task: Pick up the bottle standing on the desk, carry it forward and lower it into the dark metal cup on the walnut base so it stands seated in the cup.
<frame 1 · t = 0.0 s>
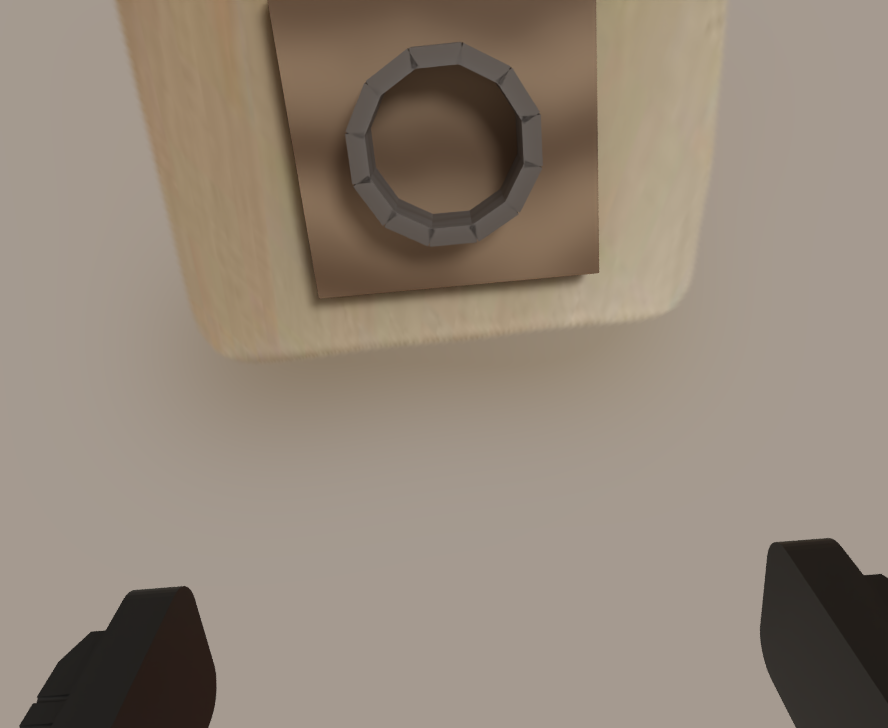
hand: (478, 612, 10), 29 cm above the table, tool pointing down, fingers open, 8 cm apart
cup bracket: (444, 135, 36), on the table
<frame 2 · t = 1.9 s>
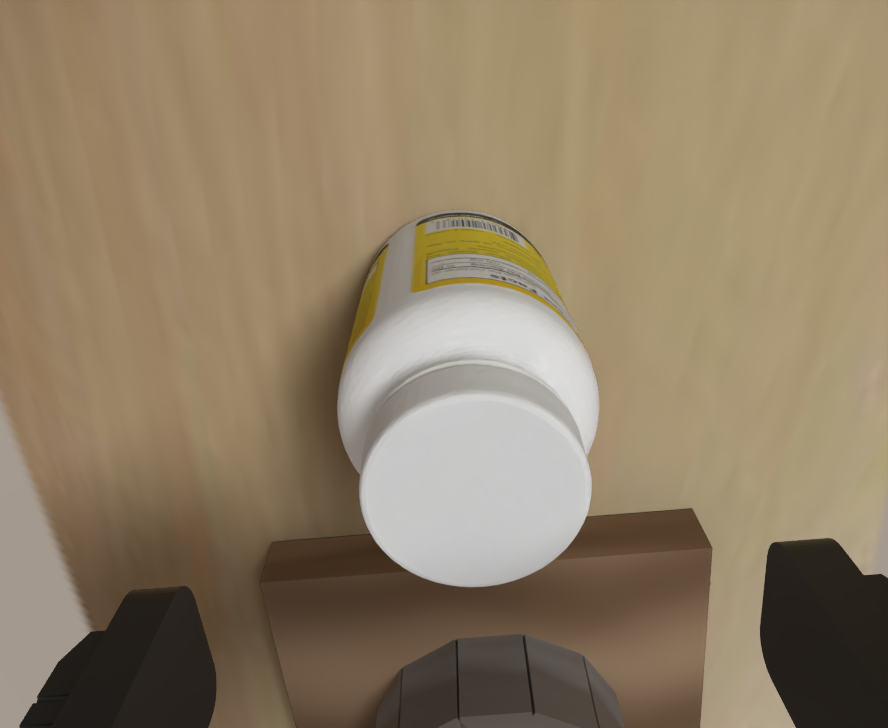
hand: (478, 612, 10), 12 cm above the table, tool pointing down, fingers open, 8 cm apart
supplement bottle: (459, 296, 22), on the table
cup bracket: (494, 678, 28), on the table
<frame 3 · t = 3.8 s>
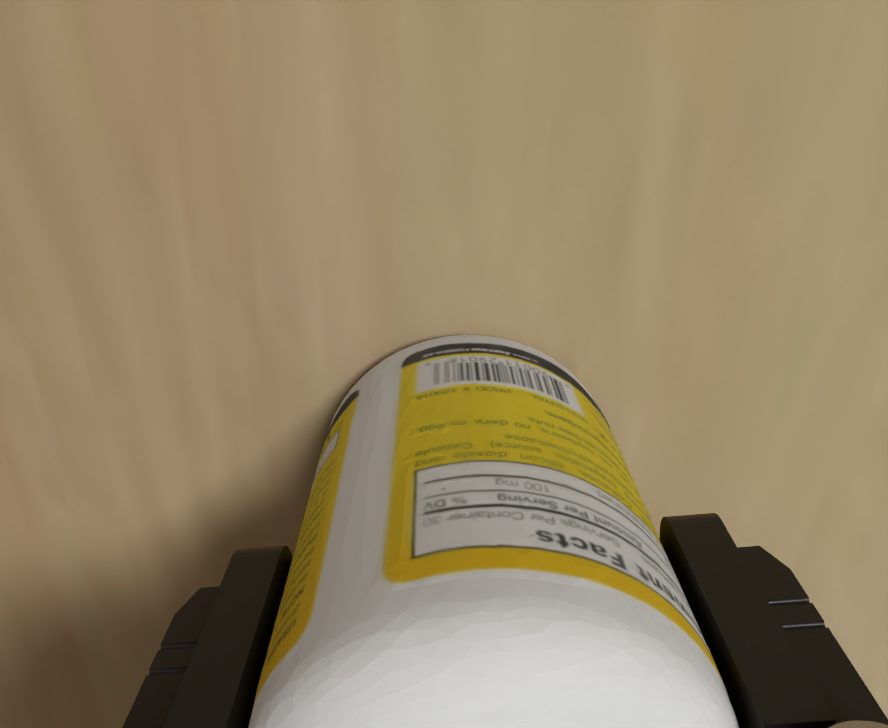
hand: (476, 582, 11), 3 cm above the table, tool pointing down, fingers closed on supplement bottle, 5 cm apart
supplement bottle: (468, 453, 14), on the table, touching gripper
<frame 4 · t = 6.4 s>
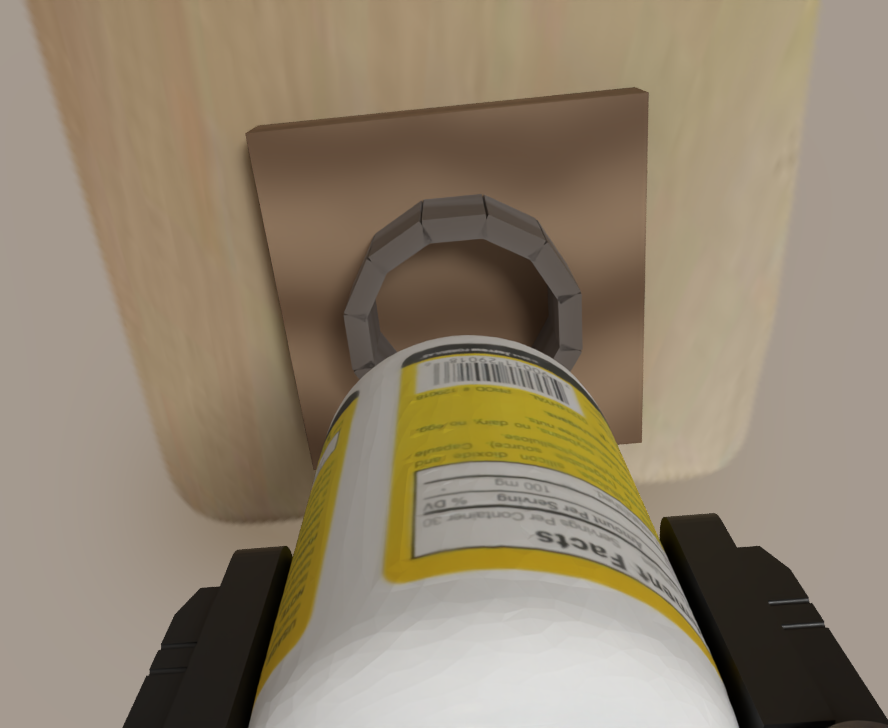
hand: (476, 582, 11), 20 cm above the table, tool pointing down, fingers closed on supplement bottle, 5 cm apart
supplement bottle: (468, 453, 14), point 17 cm above the table, touching gripper
cup bracket: (460, 285, 30), on the table
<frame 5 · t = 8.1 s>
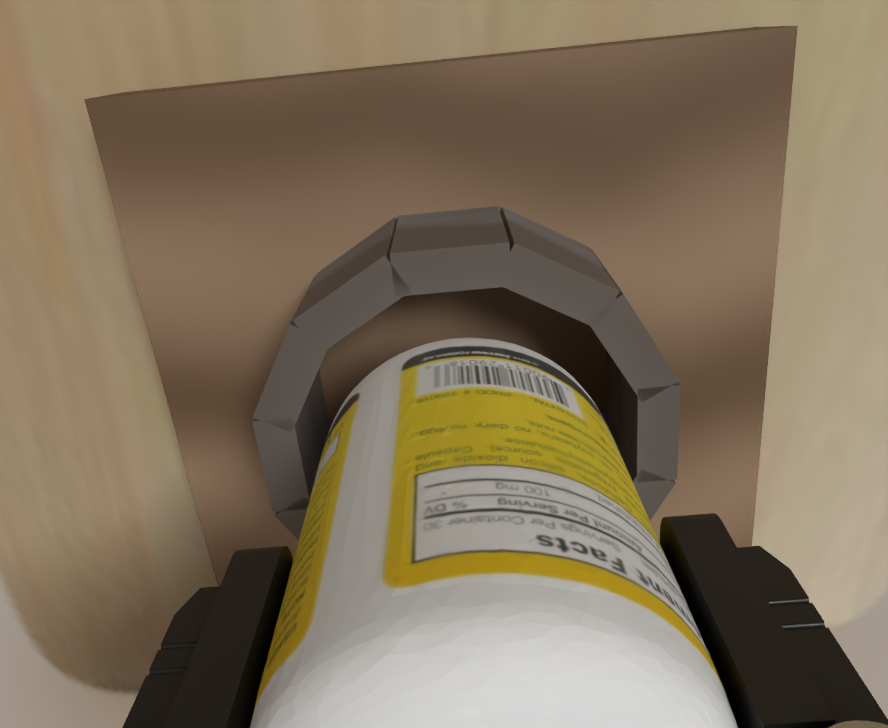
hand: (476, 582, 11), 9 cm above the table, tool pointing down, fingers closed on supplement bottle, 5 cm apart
supplement bottle: (469, 455, 14), point 5 cm above the table, touching gripper
cup bracket: (462, 351, 19), on the table
when the fingers open (7 cm above the table, at t = 9.3 s): supplement bottle drops 1 cm, resting on cup bracket.
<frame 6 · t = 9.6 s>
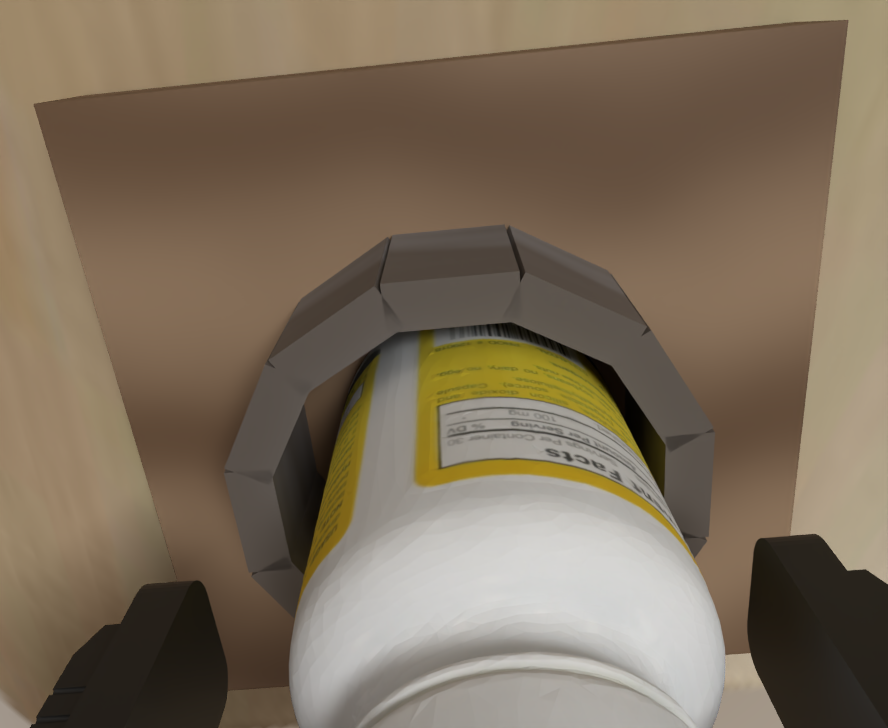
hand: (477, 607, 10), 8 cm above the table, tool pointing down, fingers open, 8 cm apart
supplement bottle: (477, 412, 16), point 2 cm above the table, touching cup bracket
cup bracket: (463, 381, 17), on the table
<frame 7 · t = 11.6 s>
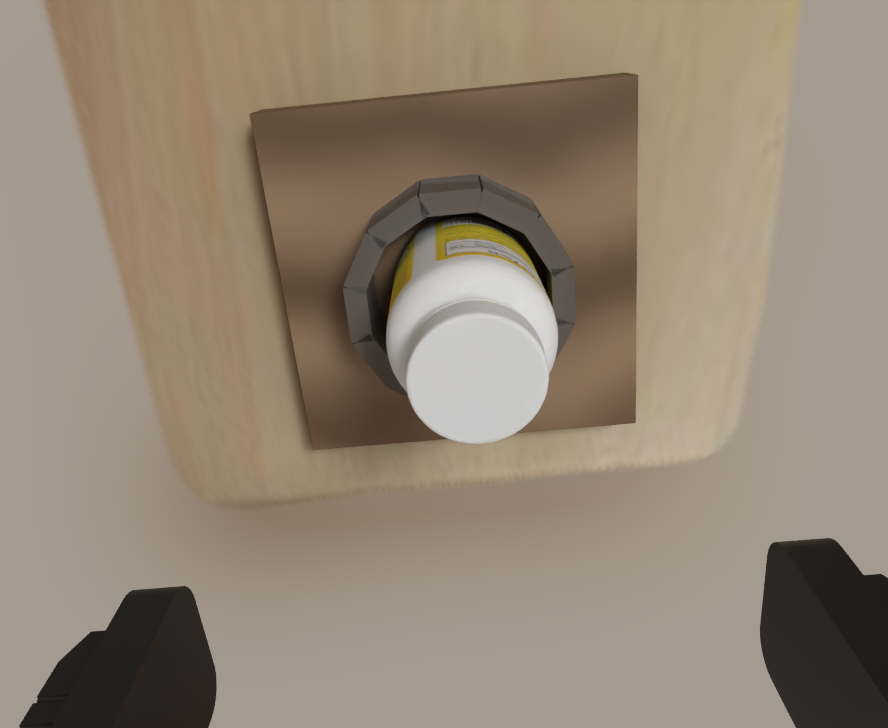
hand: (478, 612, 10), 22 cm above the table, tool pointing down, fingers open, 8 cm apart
supplement bottle: (464, 276, 30), point 2 cm above the table, touching cup bracket
cup bracket: (457, 267, 31), on the table
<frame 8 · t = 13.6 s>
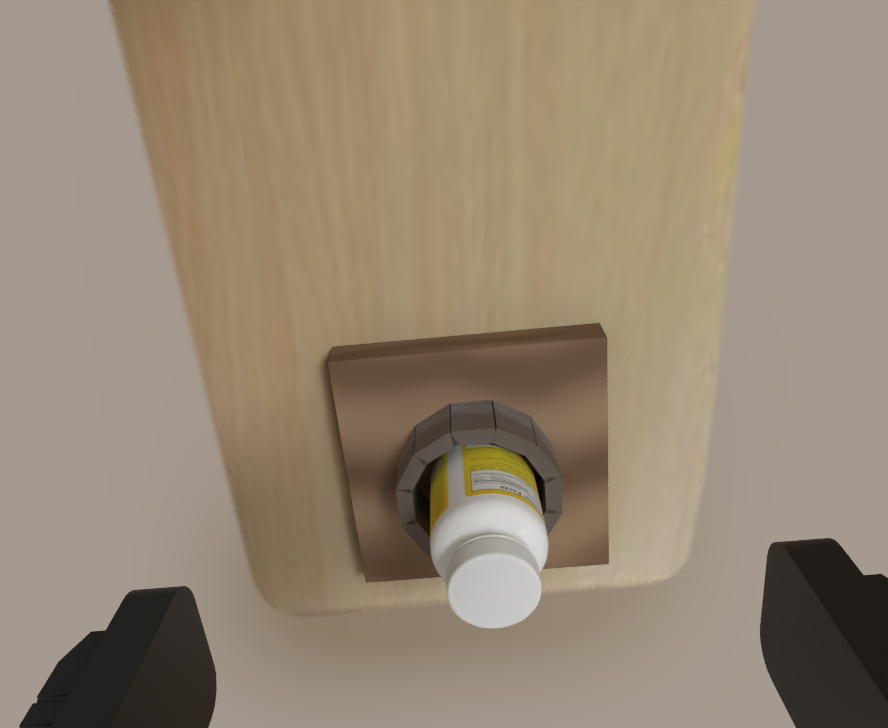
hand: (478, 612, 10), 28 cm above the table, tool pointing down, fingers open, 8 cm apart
supplement bottle: (481, 465, 40), point 2 cm above the table, touching cup bracket
cup bracket: (475, 450, 42), on the table
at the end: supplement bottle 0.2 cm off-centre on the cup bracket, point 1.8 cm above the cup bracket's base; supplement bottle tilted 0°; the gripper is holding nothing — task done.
